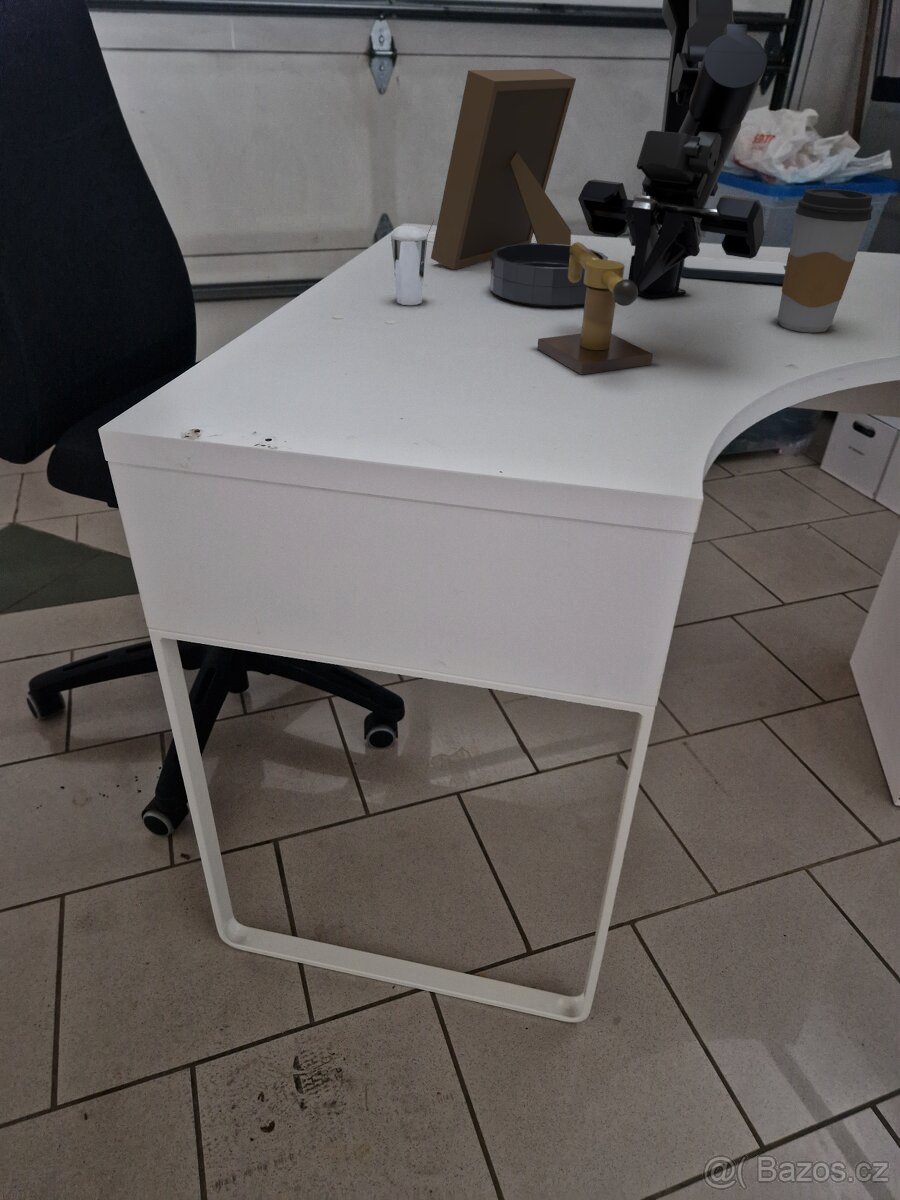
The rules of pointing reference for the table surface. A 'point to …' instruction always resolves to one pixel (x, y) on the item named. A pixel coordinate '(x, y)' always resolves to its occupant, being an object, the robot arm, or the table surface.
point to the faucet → (601, 274)
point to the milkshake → (409, 263)
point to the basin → (536, 275)
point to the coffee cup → (822, 256)
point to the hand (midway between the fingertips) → (636, 289)
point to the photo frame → (503, 165)
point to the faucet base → (594, 357)
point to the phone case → (734, 269)
